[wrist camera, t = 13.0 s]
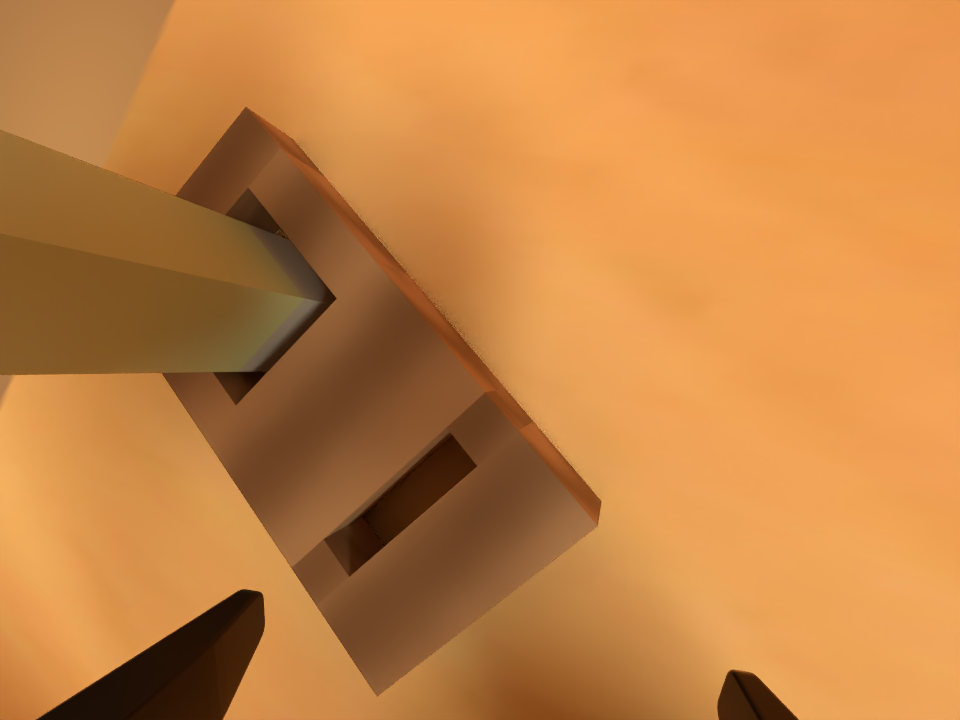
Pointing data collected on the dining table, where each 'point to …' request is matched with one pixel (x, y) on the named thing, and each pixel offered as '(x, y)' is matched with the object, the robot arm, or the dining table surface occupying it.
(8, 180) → the square bit
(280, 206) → the socket board
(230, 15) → the dining table surface
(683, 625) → the dining table surface
